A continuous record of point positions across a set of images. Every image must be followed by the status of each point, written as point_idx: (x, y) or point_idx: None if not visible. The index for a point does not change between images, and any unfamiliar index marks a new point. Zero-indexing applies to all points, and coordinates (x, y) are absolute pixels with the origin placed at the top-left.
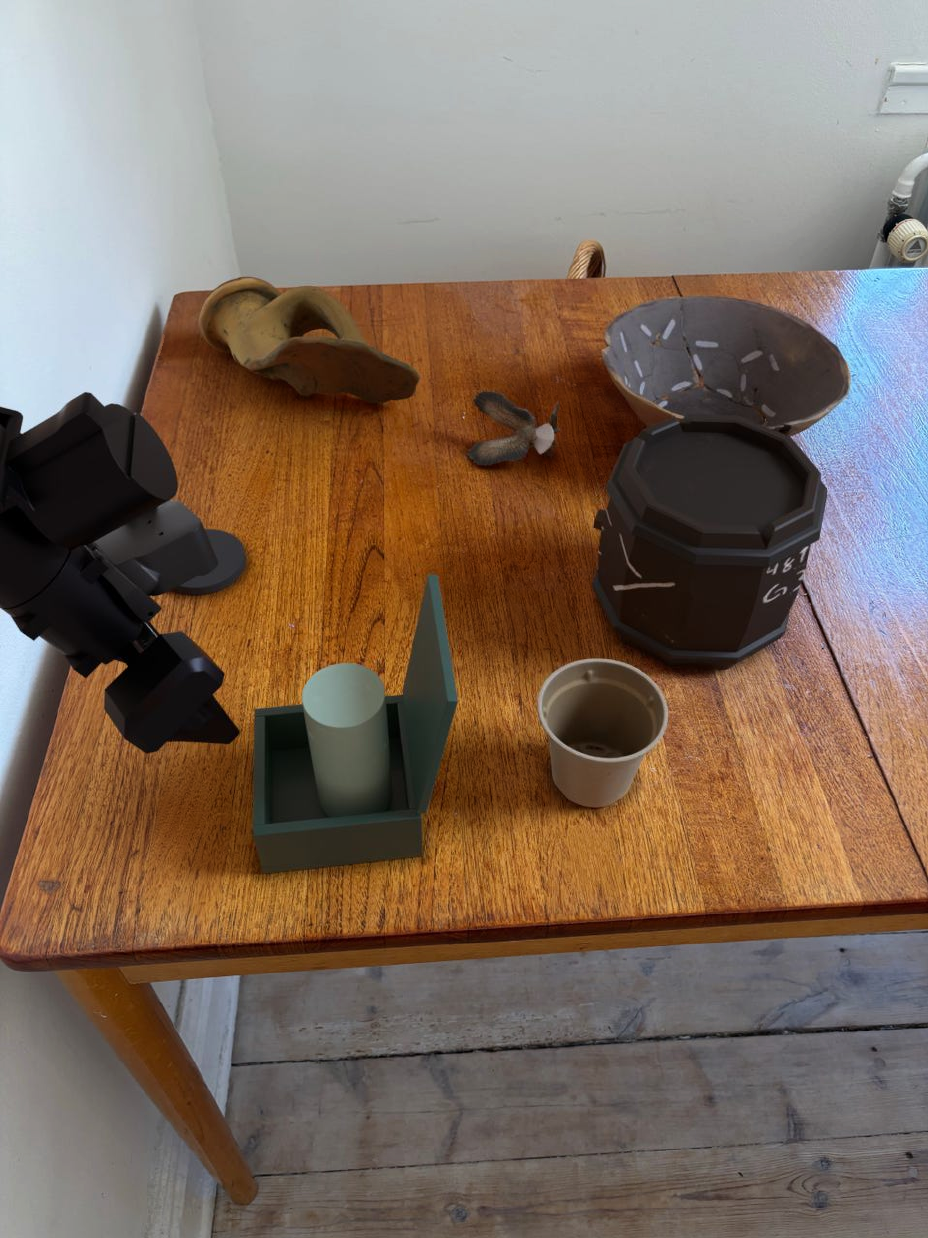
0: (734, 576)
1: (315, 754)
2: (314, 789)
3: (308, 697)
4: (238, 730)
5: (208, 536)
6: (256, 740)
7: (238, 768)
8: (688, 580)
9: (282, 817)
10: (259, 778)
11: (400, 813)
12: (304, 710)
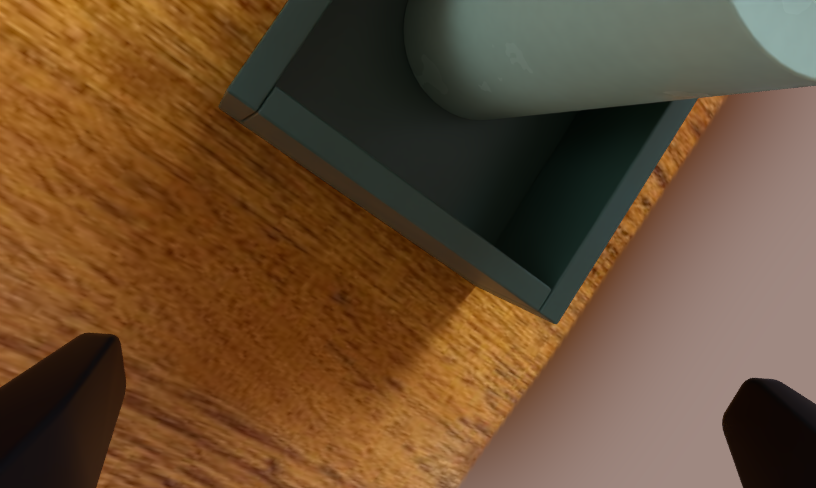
0: None
1: (624, 103)
2: (415, 97)
3: (767, 15)
4: (798, 394)
5: None
6: (339, 162)
7: (224, 187)
8: None
9: (424, 194)
10: (448, 229)
11: None
12: (770, 72)
